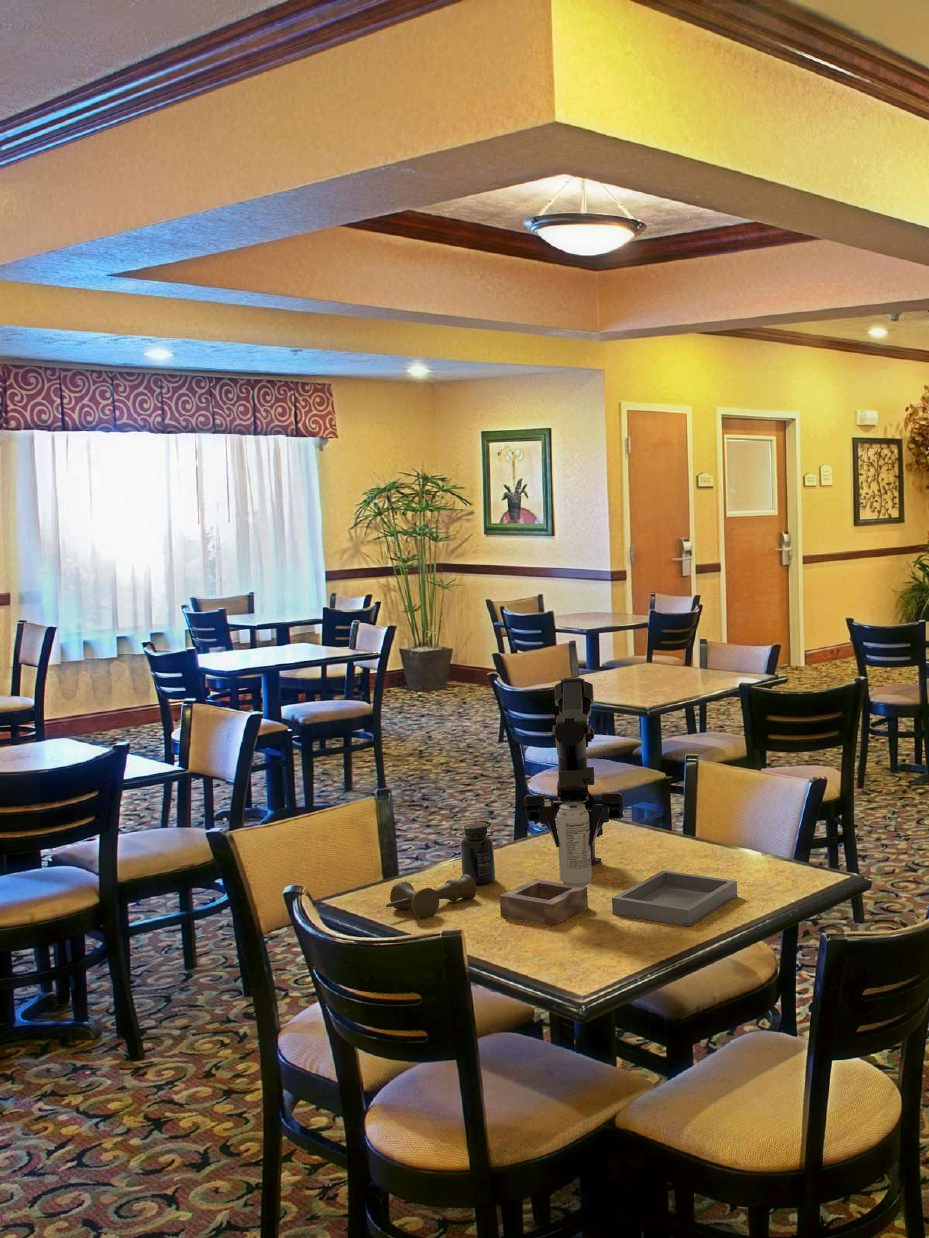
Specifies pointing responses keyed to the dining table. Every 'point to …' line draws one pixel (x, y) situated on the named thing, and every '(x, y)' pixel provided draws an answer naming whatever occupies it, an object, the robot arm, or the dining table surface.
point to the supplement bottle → (478, 854)
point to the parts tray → (675, 898)
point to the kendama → (430, 896)
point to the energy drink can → (574, 845)
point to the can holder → (543, 902)
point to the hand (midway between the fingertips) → (574, 845)
